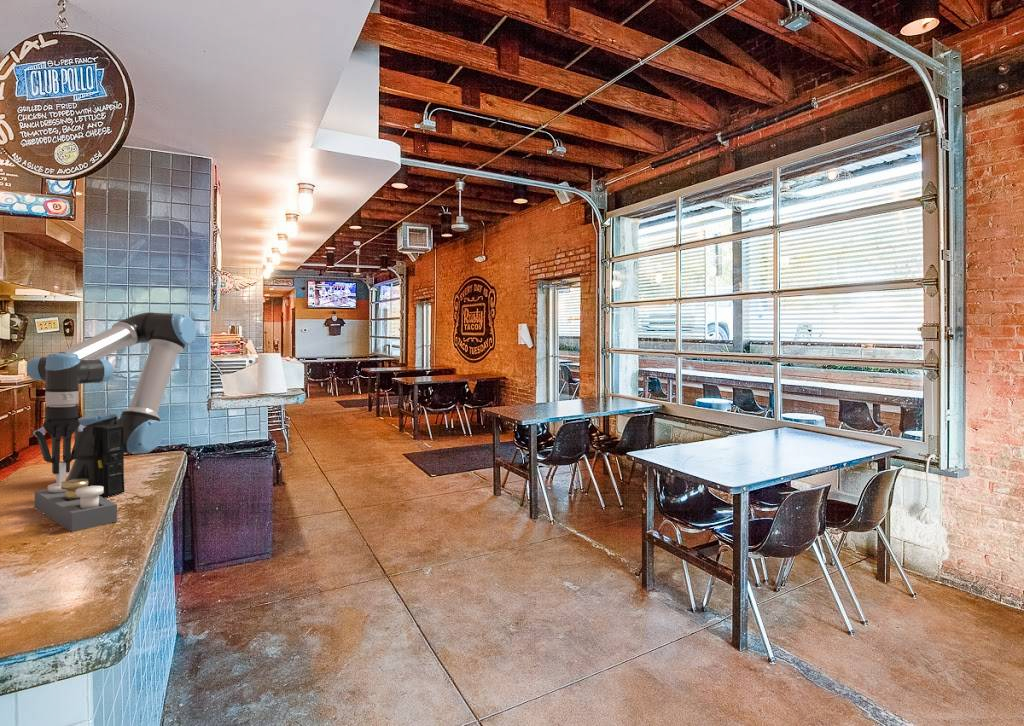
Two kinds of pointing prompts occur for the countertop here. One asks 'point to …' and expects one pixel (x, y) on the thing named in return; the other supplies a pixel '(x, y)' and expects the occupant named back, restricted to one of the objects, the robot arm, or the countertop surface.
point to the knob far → (89, 496)
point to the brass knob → (73, 487)
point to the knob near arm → (55, 488)
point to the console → (74, 511)
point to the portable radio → (109, 458)
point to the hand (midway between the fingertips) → (60, 484)
